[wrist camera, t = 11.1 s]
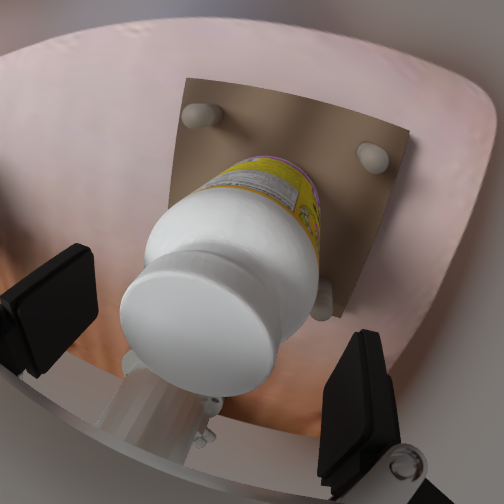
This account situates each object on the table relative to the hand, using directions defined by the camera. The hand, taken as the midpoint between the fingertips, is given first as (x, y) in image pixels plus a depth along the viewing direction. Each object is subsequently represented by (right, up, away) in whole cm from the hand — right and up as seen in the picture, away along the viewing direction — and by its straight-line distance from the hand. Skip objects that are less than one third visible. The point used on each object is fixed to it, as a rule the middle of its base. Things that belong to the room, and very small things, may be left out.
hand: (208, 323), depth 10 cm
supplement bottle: (+2, +5, +10) cm, 11 cm away
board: (+3, +6, +11) cm, 13 cm away
